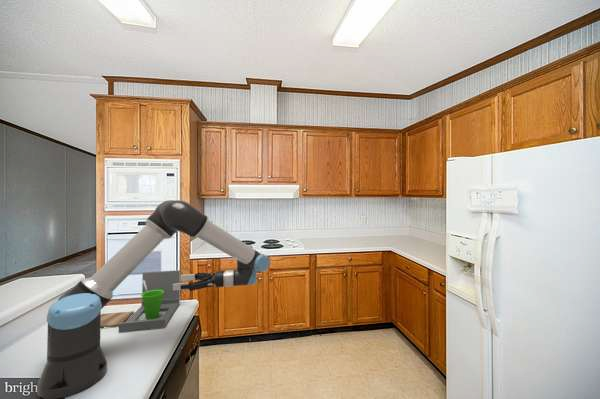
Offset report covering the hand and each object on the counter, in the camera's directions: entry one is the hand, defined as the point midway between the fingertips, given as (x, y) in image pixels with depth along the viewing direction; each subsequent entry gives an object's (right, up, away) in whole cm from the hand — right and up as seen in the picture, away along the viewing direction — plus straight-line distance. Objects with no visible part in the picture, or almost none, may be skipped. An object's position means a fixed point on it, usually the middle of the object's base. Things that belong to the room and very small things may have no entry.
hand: (176, 282), depth 116 cm
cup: (-10, -15, -3) cm, 18 cm away
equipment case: (-10, -15, -3) cm, 18 cm away
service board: (-26, -15, -6) cm, 31 cm away
